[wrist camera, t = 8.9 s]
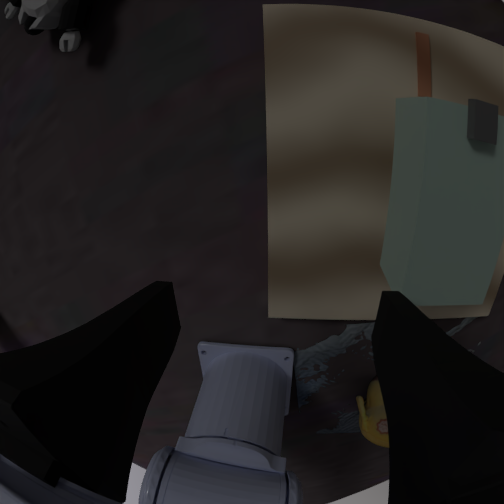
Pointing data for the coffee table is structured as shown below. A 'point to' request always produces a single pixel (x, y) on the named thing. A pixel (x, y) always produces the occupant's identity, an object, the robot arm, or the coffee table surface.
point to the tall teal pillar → (445, 201)
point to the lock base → (351, 146)
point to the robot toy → (53, 18)
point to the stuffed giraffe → (370, 410)
